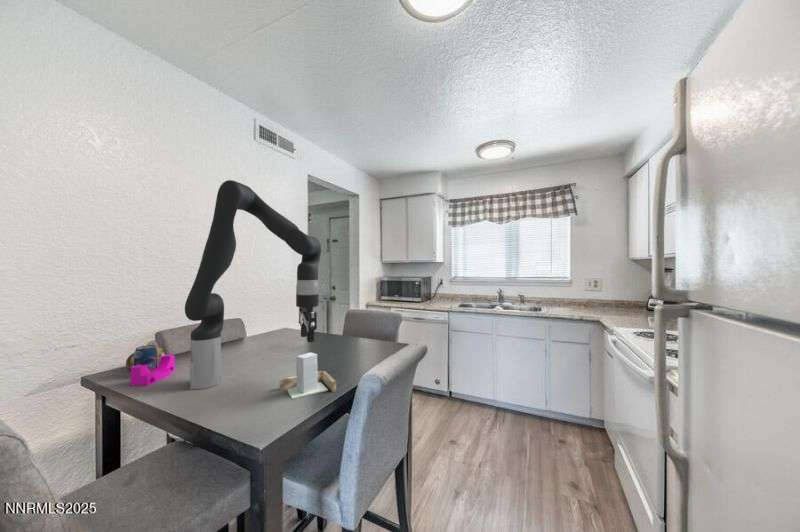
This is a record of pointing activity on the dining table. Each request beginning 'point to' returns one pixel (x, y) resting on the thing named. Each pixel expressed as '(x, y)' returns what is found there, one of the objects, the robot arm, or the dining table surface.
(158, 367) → the magenta notched block
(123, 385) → the dining table surface
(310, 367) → the skincare box
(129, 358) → the tin
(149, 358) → the soda can
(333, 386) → the wooden angle bracket
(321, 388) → the mat
